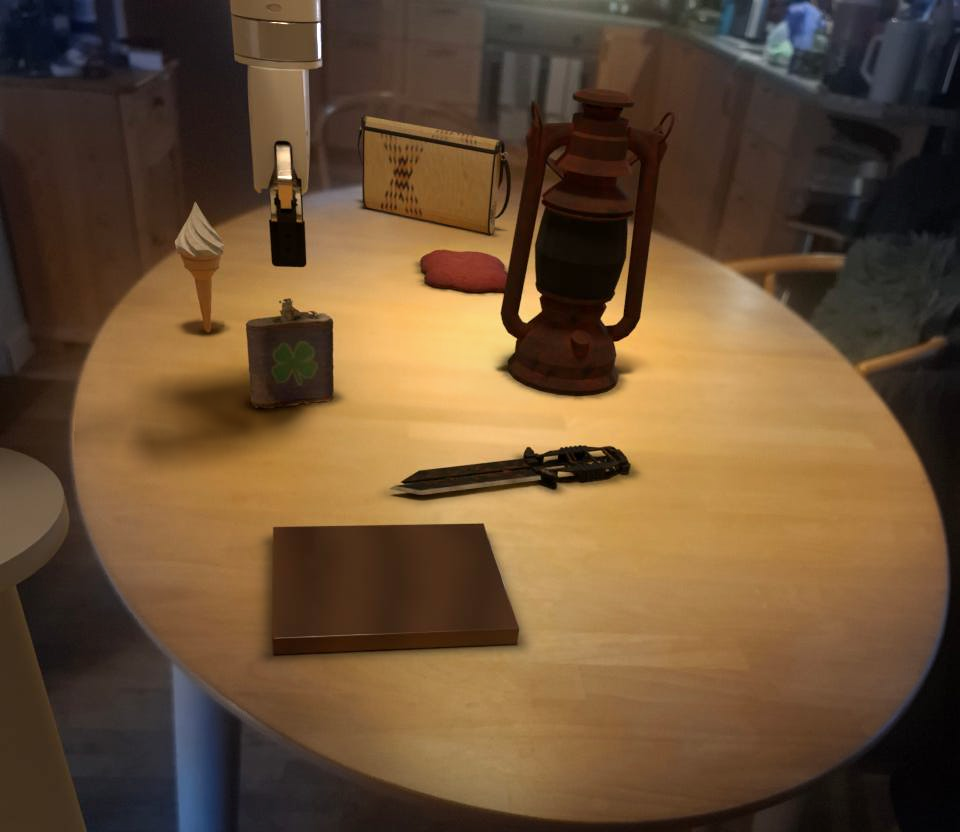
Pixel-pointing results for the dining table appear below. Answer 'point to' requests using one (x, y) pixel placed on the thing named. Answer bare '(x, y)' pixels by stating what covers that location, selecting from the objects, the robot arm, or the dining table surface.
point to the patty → (464, 271)
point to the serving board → (387, 588)
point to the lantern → (581, 243)
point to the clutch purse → (432, 173)
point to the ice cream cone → (200, 257)
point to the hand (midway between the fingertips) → (288, 250)
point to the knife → (520, 471)
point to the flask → (290, 358)
